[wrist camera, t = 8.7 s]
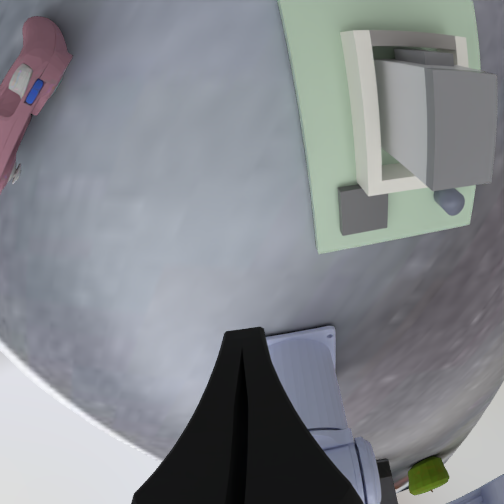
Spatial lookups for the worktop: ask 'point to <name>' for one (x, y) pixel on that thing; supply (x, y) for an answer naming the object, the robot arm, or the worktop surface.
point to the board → (368, 114)
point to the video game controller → (29, 87)
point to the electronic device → (386, 483)
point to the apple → (427, 475)
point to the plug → (437, 117)
